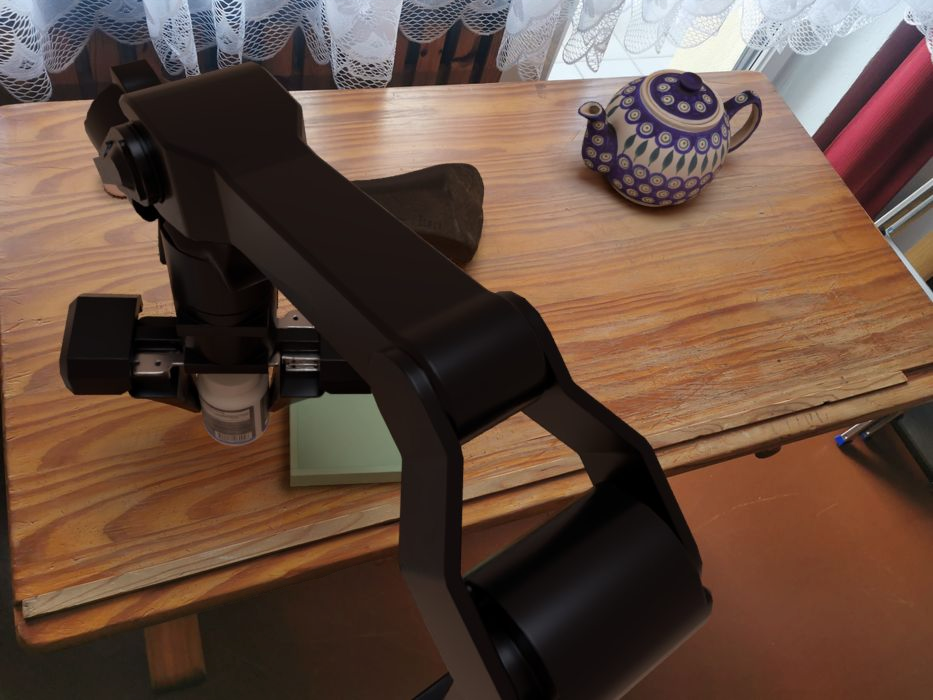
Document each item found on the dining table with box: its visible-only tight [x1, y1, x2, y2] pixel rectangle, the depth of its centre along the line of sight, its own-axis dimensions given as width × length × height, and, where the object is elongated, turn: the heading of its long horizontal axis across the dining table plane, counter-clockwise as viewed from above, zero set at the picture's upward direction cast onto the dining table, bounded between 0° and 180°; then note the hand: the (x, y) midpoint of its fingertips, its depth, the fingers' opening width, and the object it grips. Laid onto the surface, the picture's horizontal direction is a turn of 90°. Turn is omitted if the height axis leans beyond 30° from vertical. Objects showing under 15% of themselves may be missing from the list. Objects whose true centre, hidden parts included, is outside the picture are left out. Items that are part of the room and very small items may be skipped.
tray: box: [288, 392, 402, 487], centre depth 69 cm, size 12×12×2 cm
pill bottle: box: [196, 374, 271, 447], centre depth 54 cm, size 5×5×8 cm
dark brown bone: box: [350, 162, 485, 265], centre depth 78 cm, size 11×10×28 cm
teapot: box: [577, 68, 763, 208], centre depth 89 cm, size 25×15×15 cm, turn 105°
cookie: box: [102, 183, 126, 198], centre depth 78 cm, size 4×4×1 cm
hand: (236, 406), depth 56 cm, fingers closed on pill bottle, 5 cm apart
